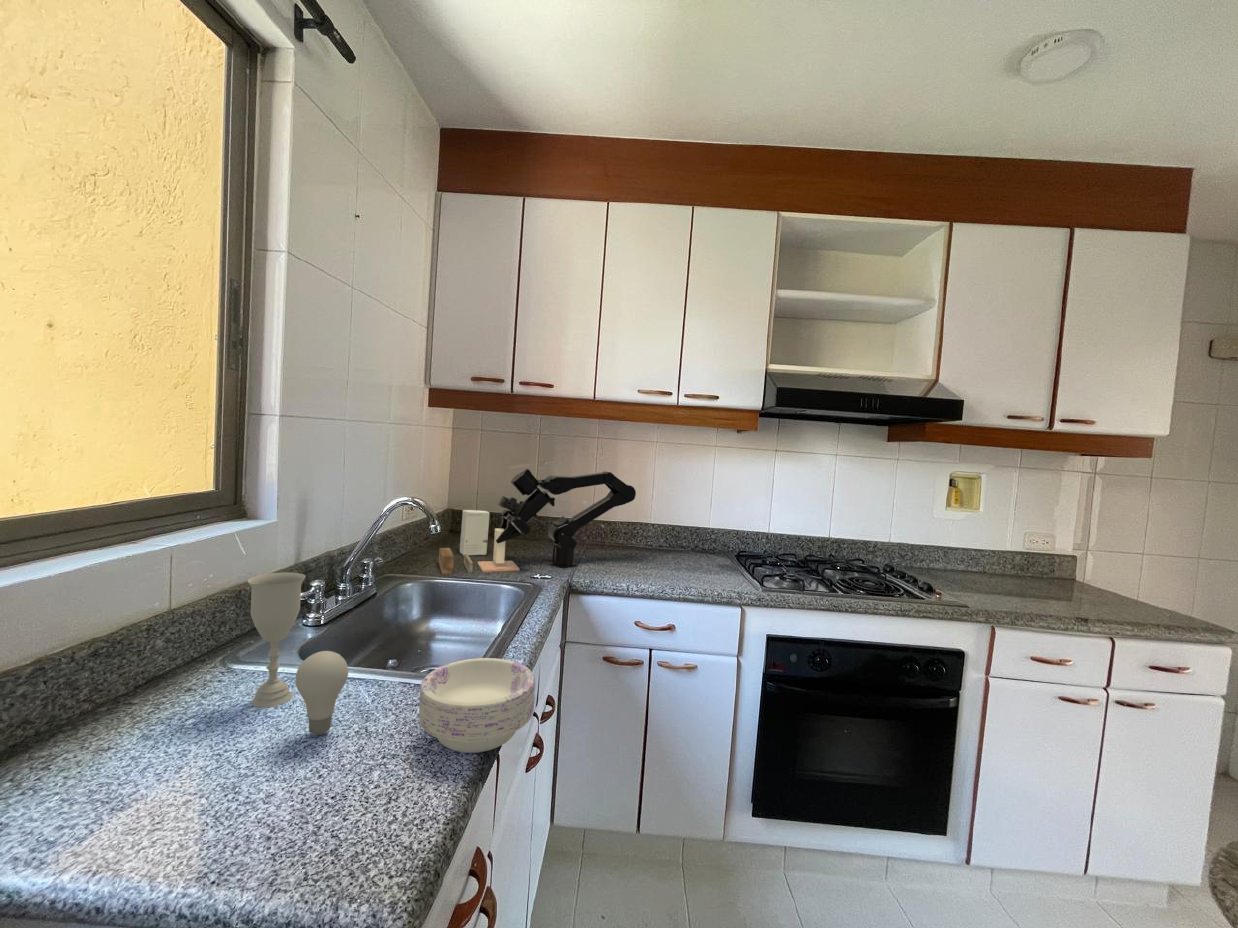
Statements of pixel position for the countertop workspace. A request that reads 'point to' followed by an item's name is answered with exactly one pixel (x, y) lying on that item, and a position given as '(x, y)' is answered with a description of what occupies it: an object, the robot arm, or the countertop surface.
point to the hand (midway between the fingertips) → (495, 540)
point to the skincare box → (474, 532)
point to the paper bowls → (476, 703)
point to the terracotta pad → (497, 566)
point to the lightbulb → (321, 687)
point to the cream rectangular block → (498, 547)
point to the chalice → (274, 626)
